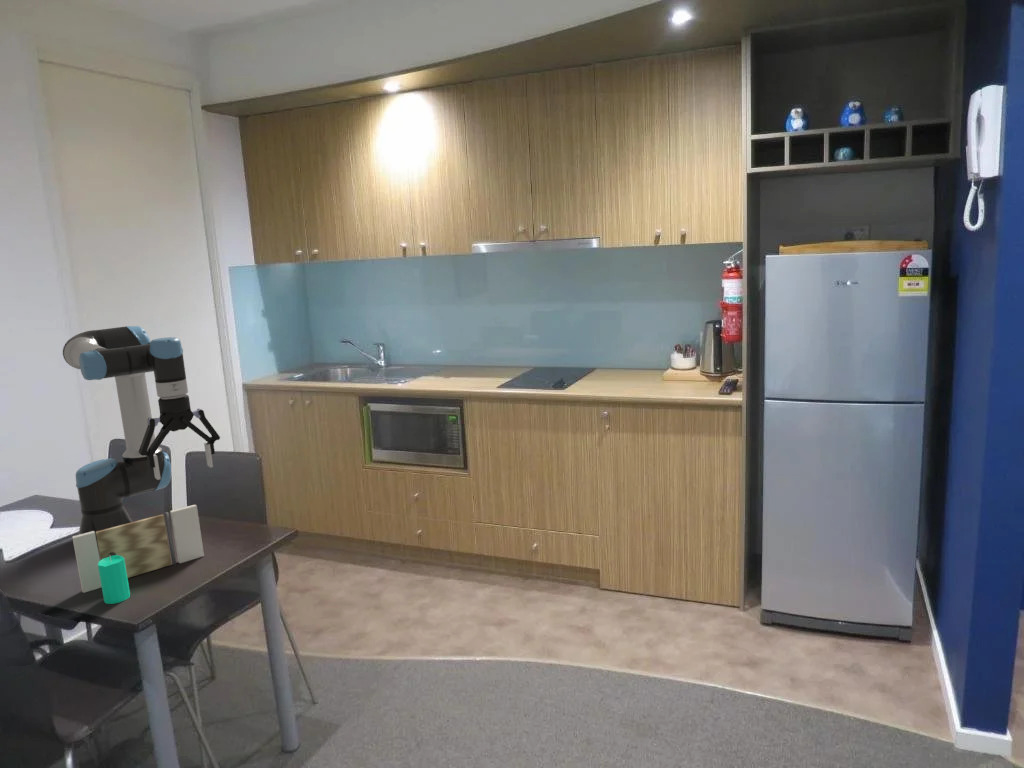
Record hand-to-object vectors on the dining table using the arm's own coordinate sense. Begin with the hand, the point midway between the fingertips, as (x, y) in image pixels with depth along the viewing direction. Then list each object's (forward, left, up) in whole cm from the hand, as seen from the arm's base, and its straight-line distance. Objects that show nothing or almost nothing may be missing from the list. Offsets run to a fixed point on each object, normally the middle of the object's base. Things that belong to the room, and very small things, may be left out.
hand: (184, 472), depth 197 cm
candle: (+3, -21, -28) cm, 35 cm away
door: (-7, -13, -28) cm, 32 cm away
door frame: (-8, -12, -28) cm, 31 cm away
